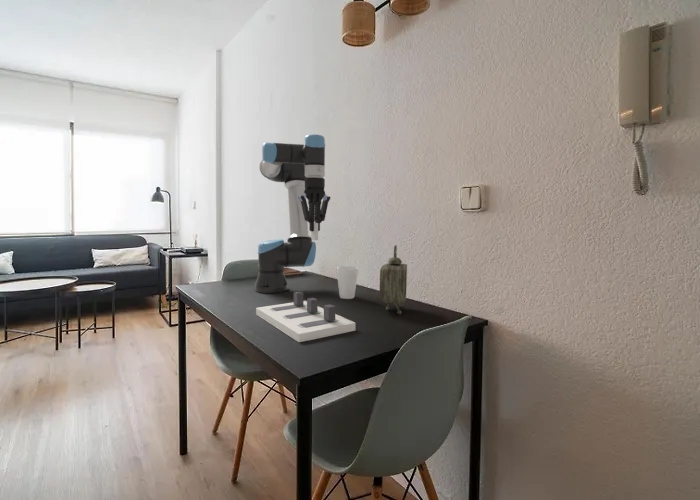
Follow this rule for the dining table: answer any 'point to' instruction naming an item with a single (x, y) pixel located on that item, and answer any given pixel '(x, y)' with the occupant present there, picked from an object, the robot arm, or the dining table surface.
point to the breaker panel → (303, 321)
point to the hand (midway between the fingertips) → (314, 239)
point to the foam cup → (347, 281)
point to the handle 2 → (329, 312)
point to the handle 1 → (298, 298)
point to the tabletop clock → (393, 282)
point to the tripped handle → (312, 305)
